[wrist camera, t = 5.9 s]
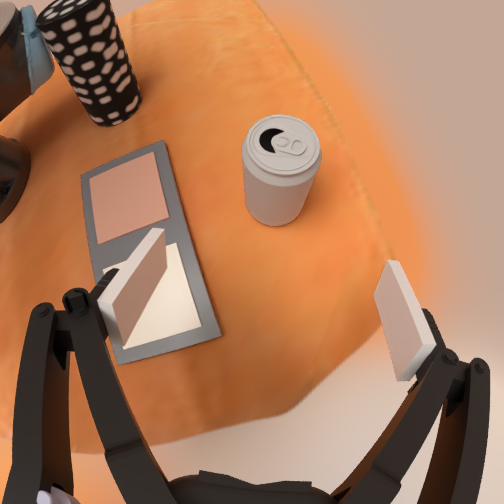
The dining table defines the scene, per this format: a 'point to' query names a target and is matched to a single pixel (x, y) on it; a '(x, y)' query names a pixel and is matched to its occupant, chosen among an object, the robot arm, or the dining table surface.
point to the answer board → (131, 235)
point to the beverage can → (279, 168)
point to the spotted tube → (92, 57)
